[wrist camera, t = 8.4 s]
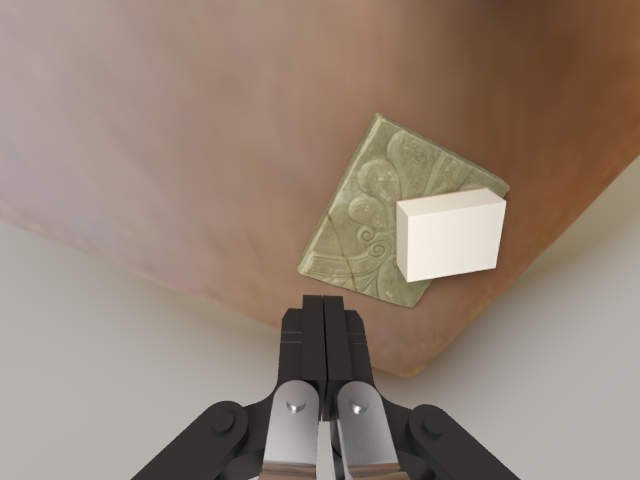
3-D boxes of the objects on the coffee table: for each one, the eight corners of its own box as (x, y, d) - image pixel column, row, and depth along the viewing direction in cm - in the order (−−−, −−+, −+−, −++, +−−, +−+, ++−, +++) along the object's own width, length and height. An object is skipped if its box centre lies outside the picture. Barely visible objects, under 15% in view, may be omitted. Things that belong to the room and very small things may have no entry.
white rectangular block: (408, 216, 35) (506, 201, 35) (395, 201, 38) (485, 187, 39) (407, 282, 39) (495, 267, 39) (395, 262, 42) (477, 249, 43)
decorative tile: (294, 261, 44) (295, 278, 41) (372, 108, 36) (382, 115, 33) (414, 301, 50) (423, 318, 47) (504, 177, 42) (523, 188, 39)
